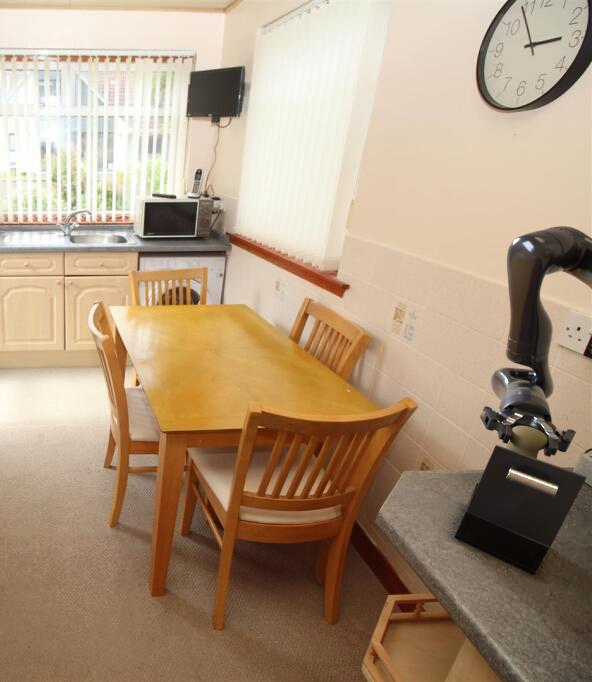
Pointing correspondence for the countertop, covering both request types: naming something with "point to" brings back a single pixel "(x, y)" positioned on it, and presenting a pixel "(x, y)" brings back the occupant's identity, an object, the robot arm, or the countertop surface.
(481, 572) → the countertop surface
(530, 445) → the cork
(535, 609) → the countertop surface
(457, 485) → the countertop surface
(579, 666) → the countertop surface
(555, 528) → the warmer lid
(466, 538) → the box
